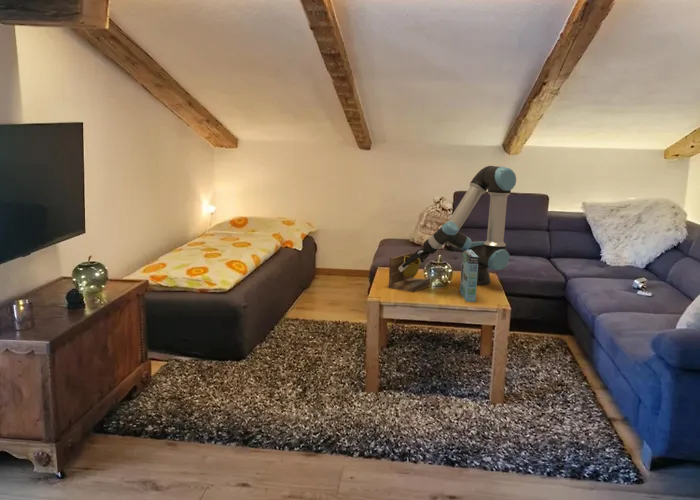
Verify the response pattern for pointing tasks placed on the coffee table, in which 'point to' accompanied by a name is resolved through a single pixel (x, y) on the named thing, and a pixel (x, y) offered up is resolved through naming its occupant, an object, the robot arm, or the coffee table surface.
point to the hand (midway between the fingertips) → (405, 268)
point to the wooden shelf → (400, 280)
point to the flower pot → (411, 268)
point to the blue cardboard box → (469, 275)
